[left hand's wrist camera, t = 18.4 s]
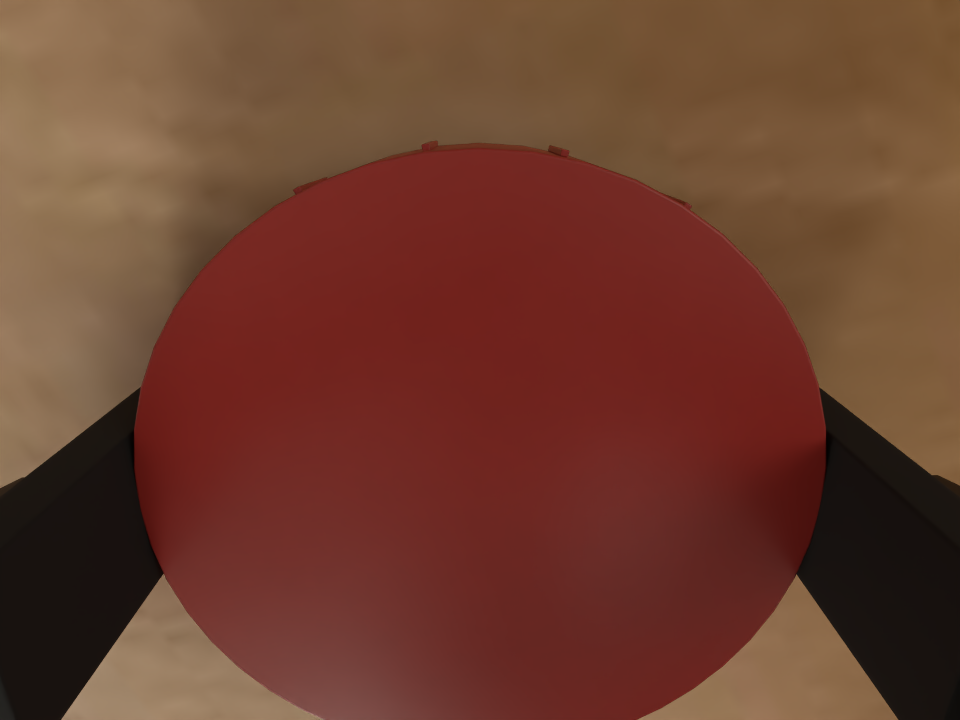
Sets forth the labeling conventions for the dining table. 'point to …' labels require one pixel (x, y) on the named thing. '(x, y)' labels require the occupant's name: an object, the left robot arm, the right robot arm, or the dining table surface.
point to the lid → (480, 443)
